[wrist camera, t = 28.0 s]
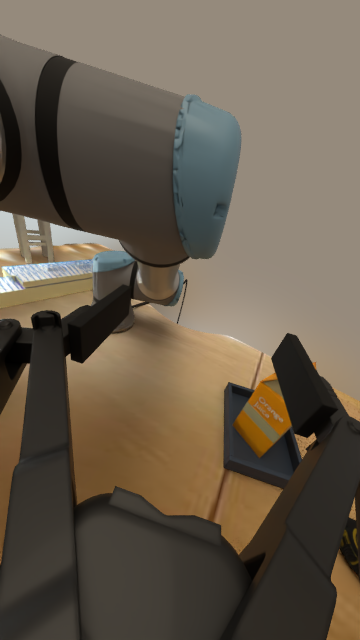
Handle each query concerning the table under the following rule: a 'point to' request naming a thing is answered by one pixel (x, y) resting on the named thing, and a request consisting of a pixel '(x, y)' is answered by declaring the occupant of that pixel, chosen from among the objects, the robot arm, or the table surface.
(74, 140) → the robot arm
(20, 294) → the pale yellow long box
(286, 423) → the orange juice
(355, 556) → the tape measure
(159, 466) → the table surface
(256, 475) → the tray
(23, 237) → the stool
